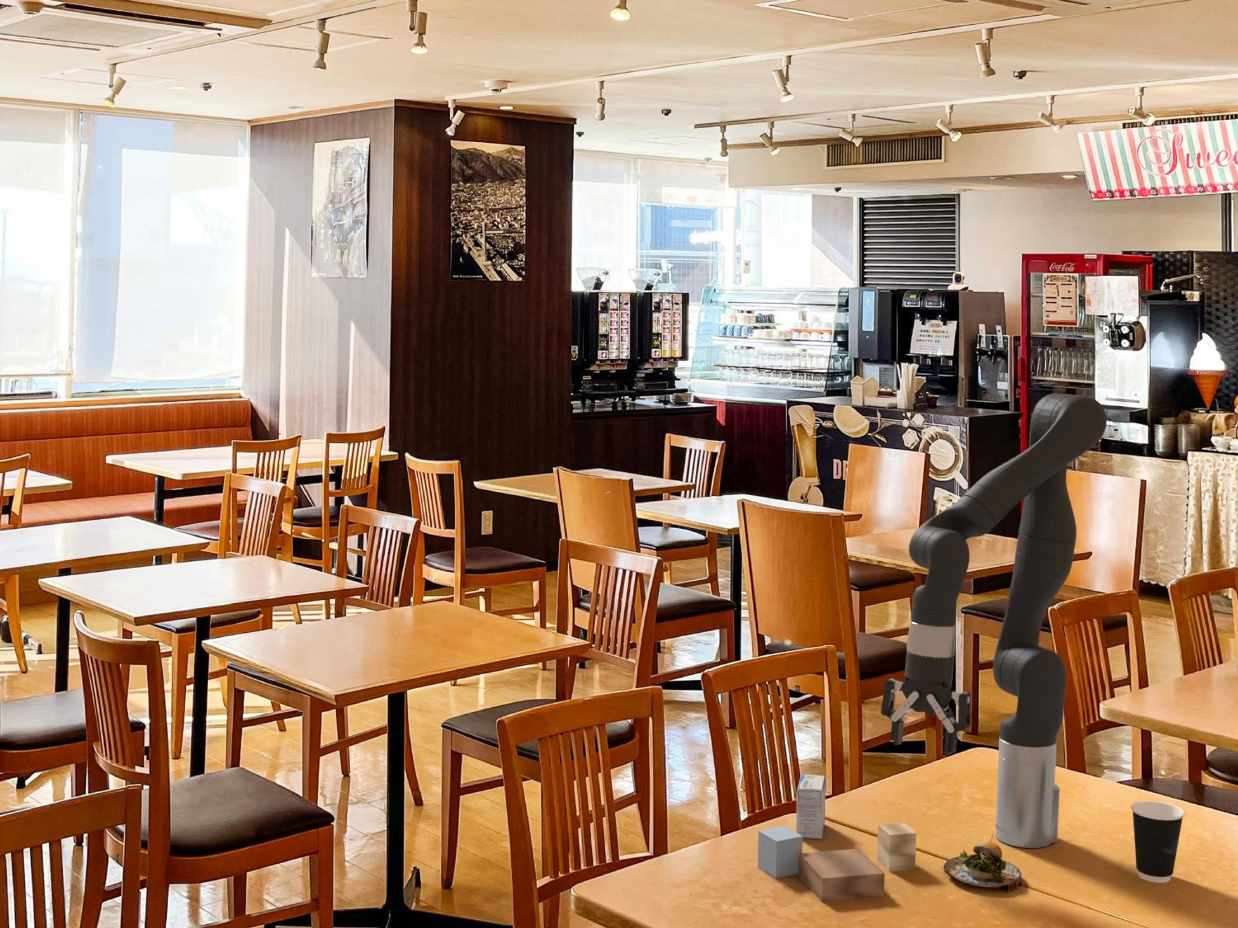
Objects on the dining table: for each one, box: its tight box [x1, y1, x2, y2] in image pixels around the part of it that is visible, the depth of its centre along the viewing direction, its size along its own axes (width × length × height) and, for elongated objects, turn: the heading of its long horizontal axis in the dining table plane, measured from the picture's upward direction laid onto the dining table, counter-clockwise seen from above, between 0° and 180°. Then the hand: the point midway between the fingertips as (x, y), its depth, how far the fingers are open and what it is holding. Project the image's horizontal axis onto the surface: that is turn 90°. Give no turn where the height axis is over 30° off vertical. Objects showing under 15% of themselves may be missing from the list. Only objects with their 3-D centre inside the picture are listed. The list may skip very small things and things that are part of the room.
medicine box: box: [795, 774, 827, 840], centre depth 238 cm, size 8×4×9 cm, turn 168°
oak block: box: [876, 822, 917, 872], centre depth 224 cm, size 4×4×6 cm
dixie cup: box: [1130, 800, 1186, 884], centre depth 220 cm, size 8×8×11 cm
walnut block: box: [797, 848, 885, 903], centre depth 216 cm, size 10×10×4 cm
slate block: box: [757, 825, 804, 879], centre depth 222 cm, size 5×5×6 cm
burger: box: [943, 831, 1023, 893], centre depth 219 cm, size 12×12×8 cm
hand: (922, 748), depth 227 cm, fingers open, 8 cm apart
